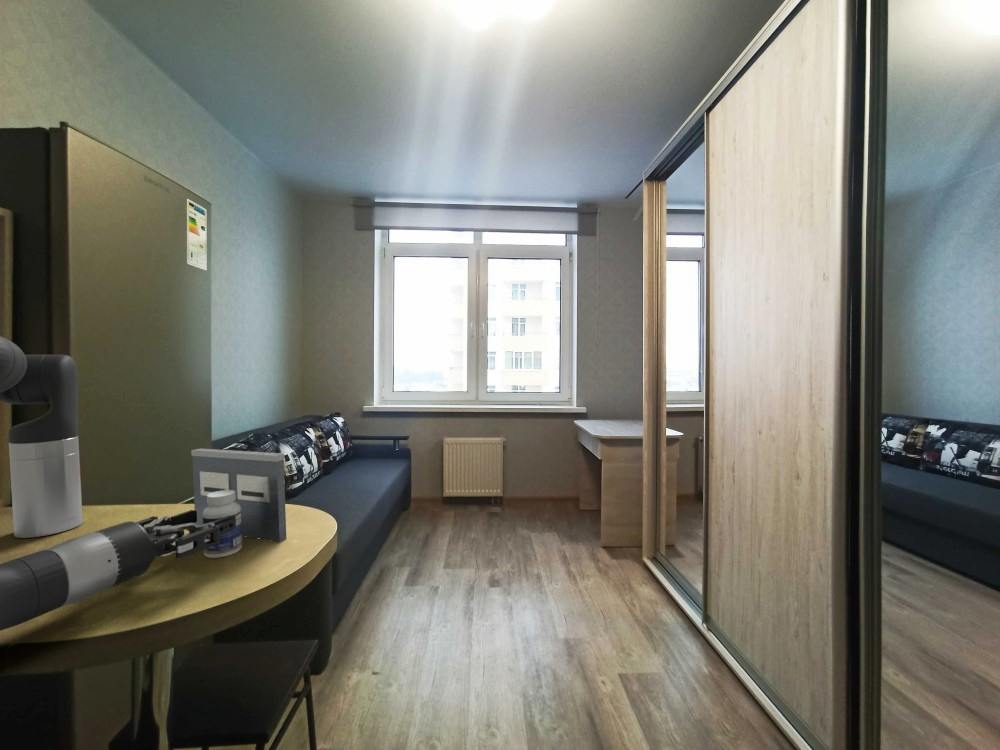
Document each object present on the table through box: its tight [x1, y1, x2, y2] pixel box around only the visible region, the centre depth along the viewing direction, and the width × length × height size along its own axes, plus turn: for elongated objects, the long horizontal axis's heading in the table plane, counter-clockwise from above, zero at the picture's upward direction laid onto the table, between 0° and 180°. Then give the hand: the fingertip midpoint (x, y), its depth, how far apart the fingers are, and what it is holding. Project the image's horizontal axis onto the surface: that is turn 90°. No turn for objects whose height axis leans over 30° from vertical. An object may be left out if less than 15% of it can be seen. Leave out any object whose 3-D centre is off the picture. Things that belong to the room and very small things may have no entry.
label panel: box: [190, 448, 287, 543], centre depth 81 cm, size 20×2×15 cm, turn 71°
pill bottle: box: [202, 490, 243, 559], centre depth 74 cm, size 5×5×10 cm
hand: (214, 518), depth 72 cm, fingers open, 8 cm apart
